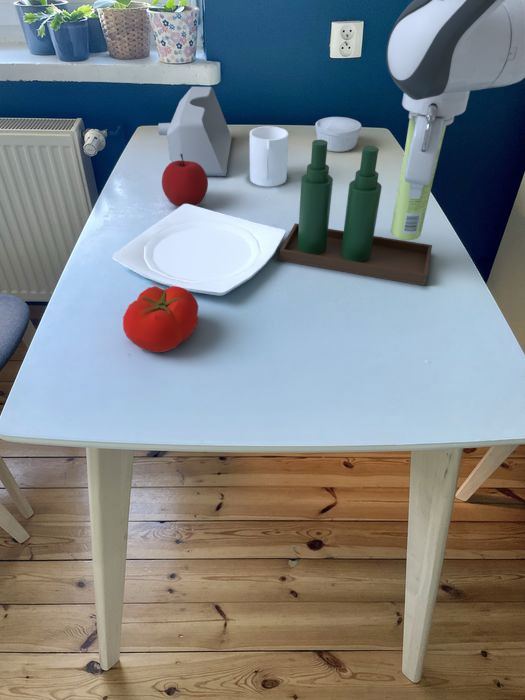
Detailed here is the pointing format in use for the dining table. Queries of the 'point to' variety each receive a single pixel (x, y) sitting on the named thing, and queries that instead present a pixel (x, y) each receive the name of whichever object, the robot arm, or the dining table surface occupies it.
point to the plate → (201, 250)
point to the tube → (406, 208)
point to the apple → (184, 183)
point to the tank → (199, 132)
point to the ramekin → (338, 132)
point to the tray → (384, 262)
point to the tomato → (161, 318)
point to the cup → (268, 156)
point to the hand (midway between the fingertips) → (416, 188)
